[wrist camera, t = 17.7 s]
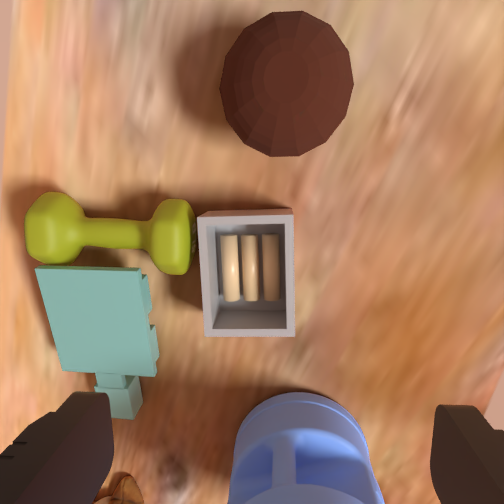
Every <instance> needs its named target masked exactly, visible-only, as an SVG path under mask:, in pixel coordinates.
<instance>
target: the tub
mask: <svg viewBox="0 0 504 504" xmlns="http://www.w3.org/2000/svg"><path fill="white" fill-rule="evenodd" d="M197 225H198V241H199V256H200V272H201V287H202V303H203V318H204V334H205V337H295V295H294V227H293V211H292V208H286V209H251V210H216V211H207V212H206V213H204V214H202V215H200V216H198V217H197Z"/></svg>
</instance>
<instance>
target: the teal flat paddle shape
mask: <svg viewBox="0 0 504 504" xmlns="http://www.w3.org/2000/svg"><path fill="white" fill-rule="evenodd" d="M35 272H36V276H37V280H38V283H39V287H40V291H41V294H42V298H43V302H44V305H45V309H46V312H47V316H48V320H49V323H50V327H51V331H52V334H53V338H54V342H55V345H56V349H57V353H58V356H59V360H60V363H61V367H62V371H73V372H88V373H95V375H96V379H97V383H96V385H95V386H94V388H95V392H104V393H107V395H108V397H109V400H110V409H111V418H118V419H130V420H134V419H135V417H136V415H137V413H138V411H139V409H140V407H141V406H142V404H143V398H142V392H141V387H140V381H139V376H147V377H155V375H156V373H157V368H156V361H157V359H158V357H159V356H160V355H159V349H158V342H157V336H156V329H155V325H150V324H149V318H148V314H149V313H150V311H151V310H152V304H151V297H150V291H149V284H148V278H147V275H144V274H141V268H123V267H85V266H47V265H39V266H38V267H36V268H35Z"/></svg>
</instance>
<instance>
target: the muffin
mask: <svg viewBox="0 0 504 504" xmlns="http://www.w3.org/2000/svg"><path fill="white" fill-rule="evenodd" d="M353 86H354V82H353V76H352V70H351V63H350V57H349V51H348V50H347V48H346V47H345V45H344V44H343V43H342V41H341V40H340V38H339V37H338V35H337V34H336V32H335V31H334V29H333V28H332V27H331V25H329V24H328V23H326V22H324V21H322V20H320V19H318V18H316V17H314V16H312V15H310V14H308V13H306V12H304V11H290V12H272V13H270V14H268V15H266V16H265V17H263V18H261V19H260V20H258V21H256V22H255V23H253V24H251V25H250V26H248V27H246V28H245V29H244V30H243V31H242V33H241V34H240V36H239V37H238V39H237V40H236V42H235V43H234V45H233V46H232V48H231V49H230V51H229V52H228V54H227V55H226V57H225V62H224V68H223V73H222V78H221V83H220V93H221V98H222V103H223V107H224V112H225V116H226V120H227V121H228V123H229V124H230V125H231V127H232V128H233V129H234V131H235V132H236V133H237V135H238V136H239V137H240V139H241V140H242V141H243V143H244V144H246V145H248V146H250V147H252V148H254V149H256V150H258V151H260V152H262V153H264V154H266V155H268V156H270V157H281V156H300V155H302V154H304V153H306V152H308V151H310V150H312V149H314V148H315V147H317V146H319V145H321V144H323V143H325V142H326V141H327V140H328V139H329V137H330V136H331V135H332V133H333V132H334V131H335V130H336V128H337V127H338V126H339V124H340V123H341V122H342V120H343V119H344V118H345V116H346V113H347V109H348V105H349V101H350V97H351V93H352V90H353Z"/></svg>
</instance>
